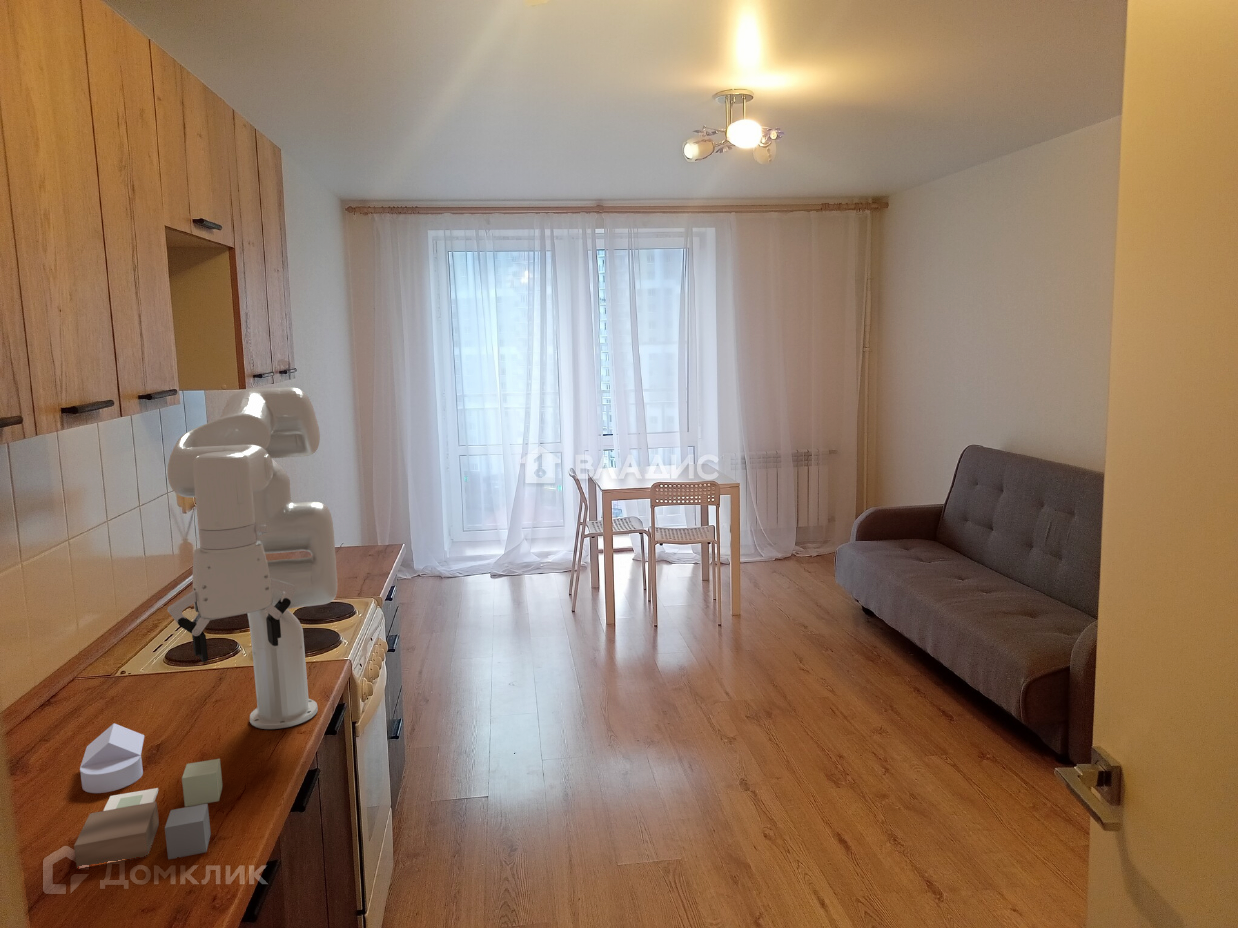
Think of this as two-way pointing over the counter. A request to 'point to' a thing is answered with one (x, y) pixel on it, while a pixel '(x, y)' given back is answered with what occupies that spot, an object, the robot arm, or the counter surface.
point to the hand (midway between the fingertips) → (239, 651)
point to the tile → (131, 799)
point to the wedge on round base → (112, 760)
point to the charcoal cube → (187, 831)
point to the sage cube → (202, 782)
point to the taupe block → (117, 834)
